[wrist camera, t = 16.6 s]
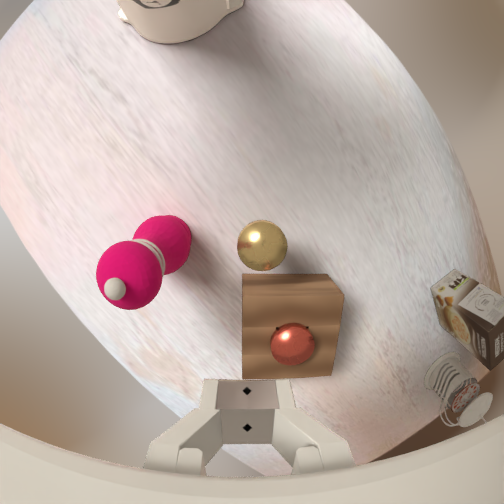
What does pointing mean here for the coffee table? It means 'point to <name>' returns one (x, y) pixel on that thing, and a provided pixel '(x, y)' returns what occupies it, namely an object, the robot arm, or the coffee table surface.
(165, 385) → the coffee table surface
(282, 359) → the red round-headed grey cylinder
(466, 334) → the coffee box
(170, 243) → the pepper mill
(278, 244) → the brass pin
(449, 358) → the french press
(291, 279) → the hitch block
